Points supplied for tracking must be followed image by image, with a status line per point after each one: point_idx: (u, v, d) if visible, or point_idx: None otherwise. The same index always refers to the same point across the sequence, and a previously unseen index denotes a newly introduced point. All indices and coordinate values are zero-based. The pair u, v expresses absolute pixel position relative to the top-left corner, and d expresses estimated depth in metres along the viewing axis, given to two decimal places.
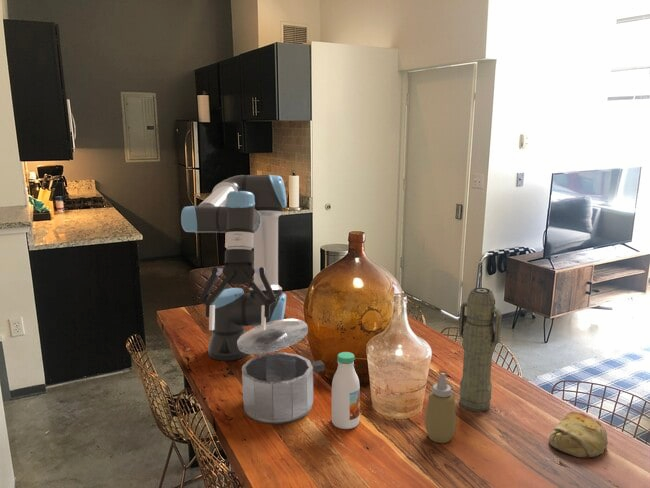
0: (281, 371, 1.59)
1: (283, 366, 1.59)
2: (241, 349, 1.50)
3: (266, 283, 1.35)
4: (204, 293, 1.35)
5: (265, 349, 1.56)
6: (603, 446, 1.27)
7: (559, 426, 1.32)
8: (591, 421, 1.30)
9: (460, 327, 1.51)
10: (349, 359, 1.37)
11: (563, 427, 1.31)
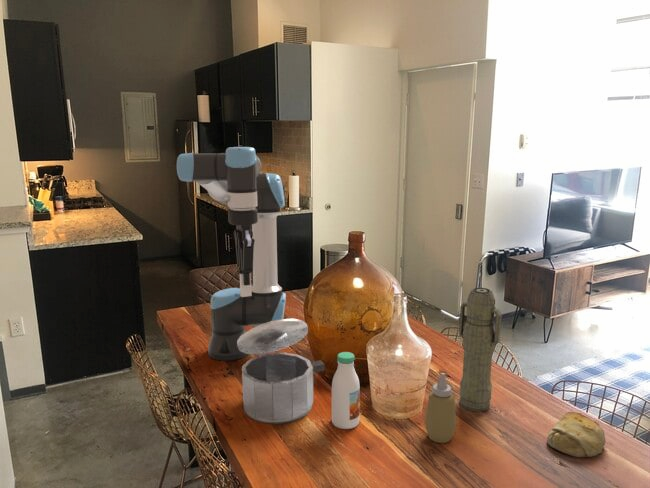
0: (281, 371, 1.59)
1: (283, 366, 1.59)
2: (241, 349, 1.50)
3: (243, 254, 1.31)
4: (237, 258, 1.38)
5: (265, 349, 1.56)
6: (601, 446, 1.27)
7: (557, 426, 1.32)
8: (589, 421, 1.30)
9: (460, 327, 1.51)
10: (349, 359, 1.37)
11: (561, 427, 1.31)
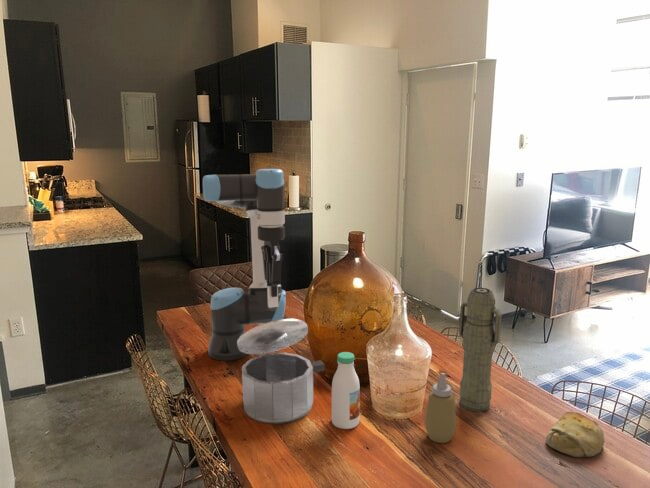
0: (281, 371, 1.59)
1: (283, 366, 1.59)
2: (241, 349, 1.50)
3: (272, 268, 1.41)
4: (264, 271, 1.49)
5: (265, 349, 1.56)
6: (600, 446, 1.27)
7: (556, 426, 1.32)
8: (588, 421, 1.30)
9: (460, 327, 1.51)
10: (349, 359, 1.37)
11: (560, 427, 1.31)
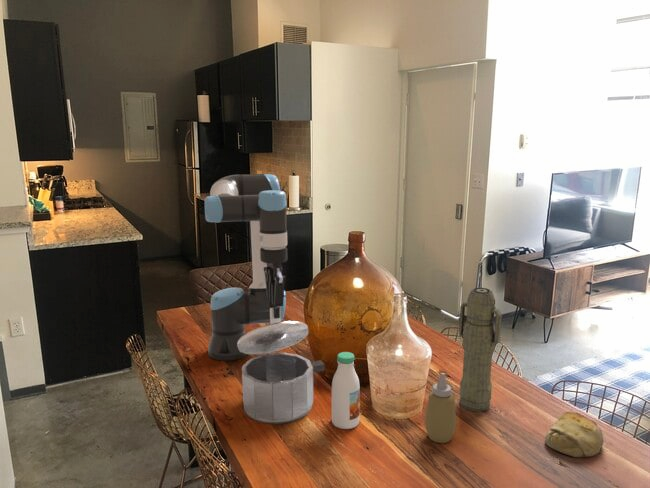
0: (281, 371, 1.59)
1: (283, 366, 1.59)
2: (241, 350, 1.50)
3: (275, 290, 1.40)
4: (267, 292, 1.48)
5: (265, 349, 1.56)
6: (599, 446, 1.28)
7: (555, 426, 1.32)
8: (587, 421, 1.30)
9: (460, 327, 1.51)
10: (349, 359, 1.37)
11: (559, 427, 1.31)
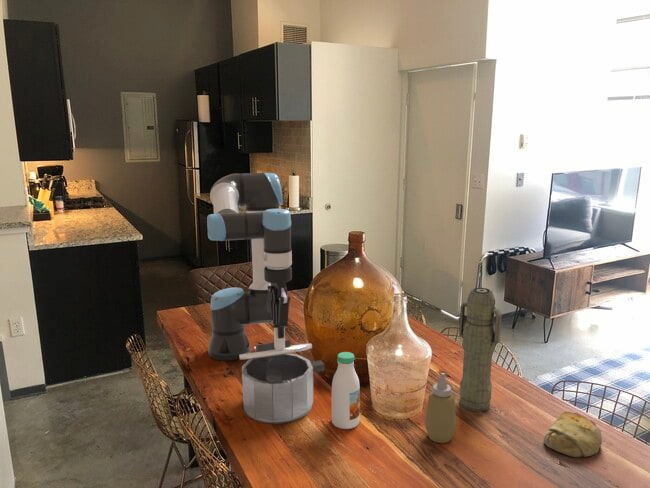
0: (281, 371, 1.59)
1: (283, 366, 1.59)
2: None
3: (279, 310, 1.38)
4: (271, 311, 1.46)
5: None
6: (598, 445, 1.28)
7: (554, 426, 1.32)
8: (585, 421, 1.30)
9: (460, 327, 1.51)
10: (349, 359, 1.37)
11: (558, 427, 1.31)
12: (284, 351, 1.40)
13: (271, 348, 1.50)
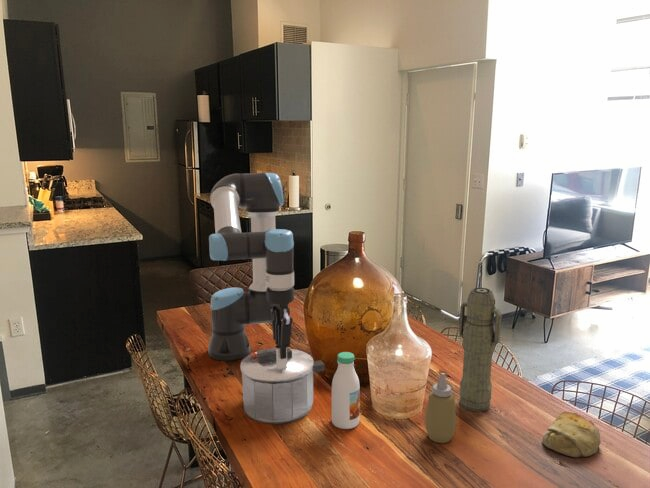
0: None
1: None
2: None
3: (281, 332, 1.38)
4: (273, 331, 1.46)
5: None
6: (596, 445, 1.28)
7: (553, 426, 1.32)
8: (584, 421, 1.30)
9: (460, 327, 1.51)
10: (349, 359, 1.37)
11: (556, 427, 1.31)
12: (287, 379, 1.40)
13: (272, 359, 1.50)
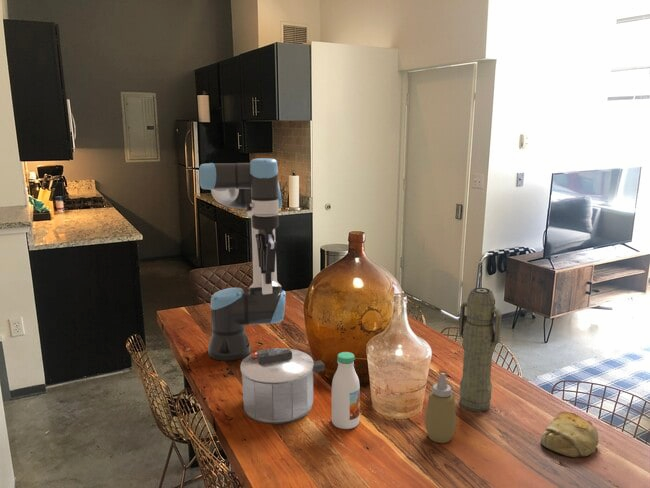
0: None
1: None
2: None
3: (266, 256, 1.44)
4: (258, 258, 1.52)
5: None
6: (594, 445, 1.28)
7: (551, 426, 1.32)
8: (582, 420, 1.30)
9: (460, 327, 1.51)
10: (349, 359, 1.37)
11: (554, 427, 1.31)
12: (287, 380, 1.40)
13: (273, 360, 1.50)
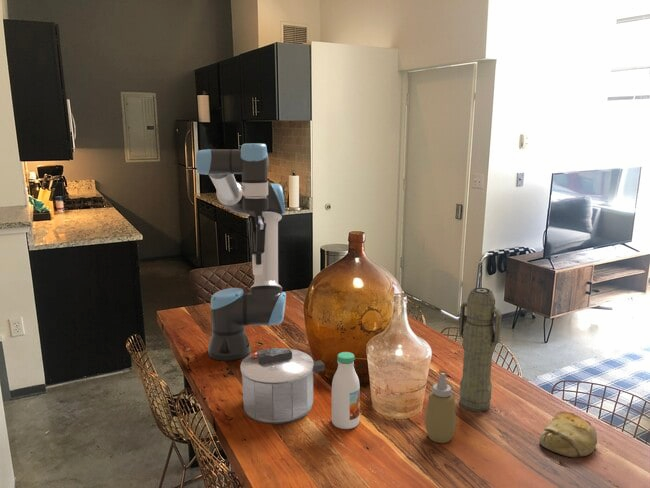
0: None
1: None
2: None
3: (256, 237, 1.50)
4: (249, 241, 1.58)
5: None
6: (593, 445, 1.28)
7: (549, 426, 1.32)
8: (581, 420, 1.30)
9: (460, 327, 1.51)
10: (349, 359, 1.37)
11: (553, 427, 1.31)
12: (287, 380, 1.40)
13: (273, 360, 1.50)
